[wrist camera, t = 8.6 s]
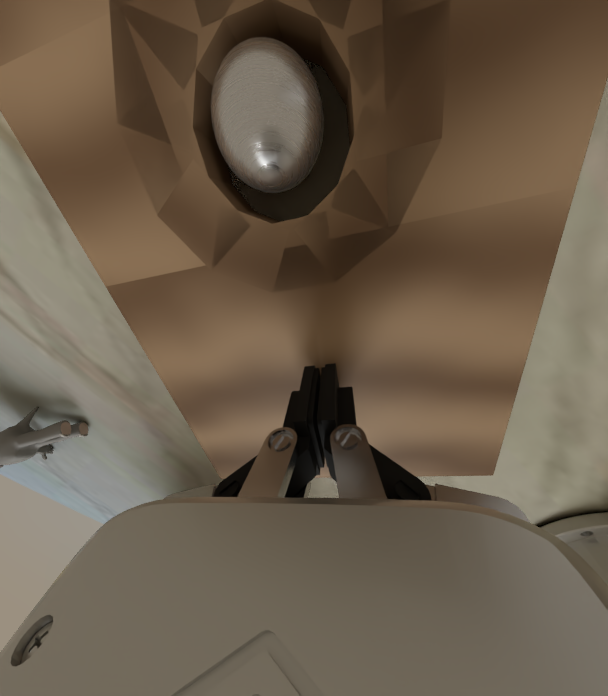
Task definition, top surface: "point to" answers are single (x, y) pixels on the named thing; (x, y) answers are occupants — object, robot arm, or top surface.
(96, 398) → the top surface
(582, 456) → the top surface
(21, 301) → the top surface
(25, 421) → the grey toy figure
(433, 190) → the deck
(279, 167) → the ball
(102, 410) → the top surface
